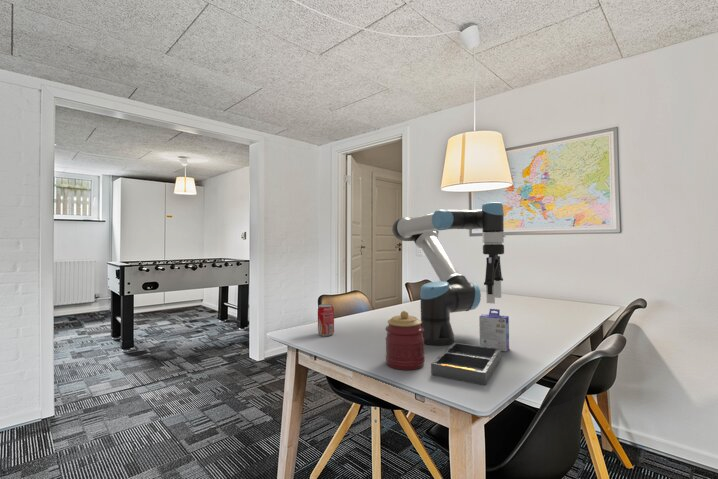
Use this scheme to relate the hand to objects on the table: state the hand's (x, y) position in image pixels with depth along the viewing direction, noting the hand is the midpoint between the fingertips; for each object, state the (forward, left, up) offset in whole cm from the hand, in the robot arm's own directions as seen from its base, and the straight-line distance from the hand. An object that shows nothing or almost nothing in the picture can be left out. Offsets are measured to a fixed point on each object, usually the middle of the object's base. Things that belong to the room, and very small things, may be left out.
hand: (494, 300), depth 134 cm
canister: (-23, -31, -18) cm, 43 cm away
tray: (-4, -24, -18) cm, 30 cm away
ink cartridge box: (0, 0, -18) cm, 18 cm away
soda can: (-68, -14, -18) cm, 72 cm away
